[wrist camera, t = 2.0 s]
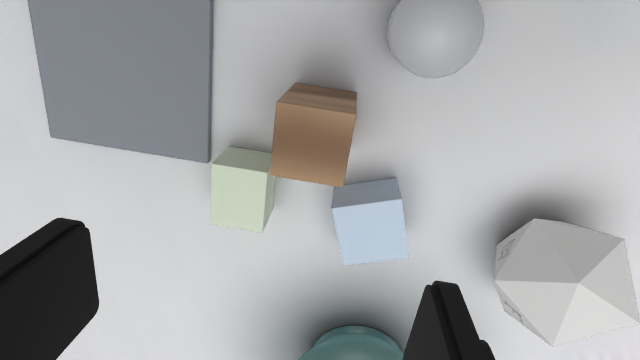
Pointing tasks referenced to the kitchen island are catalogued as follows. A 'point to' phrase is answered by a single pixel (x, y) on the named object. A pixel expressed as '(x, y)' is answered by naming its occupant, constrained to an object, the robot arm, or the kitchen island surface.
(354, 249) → the dusty blue cube
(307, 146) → the walnut block
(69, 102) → the slate mat
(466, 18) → the grey rounded piece
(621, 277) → the die
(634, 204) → the kitchen island surface
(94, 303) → the robot arm
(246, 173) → the sage block
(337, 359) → the flower pot
